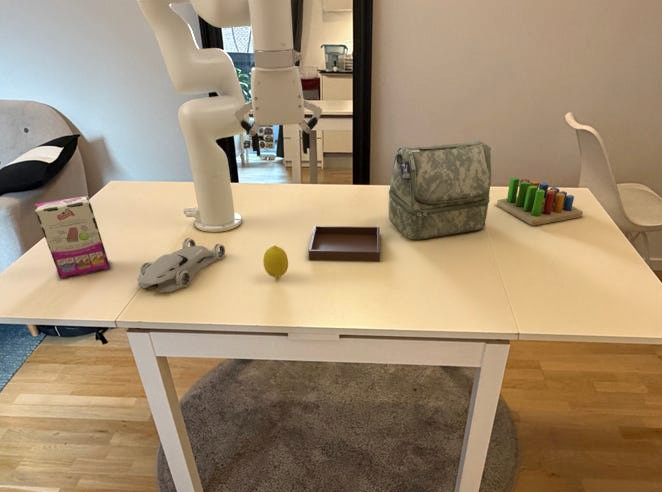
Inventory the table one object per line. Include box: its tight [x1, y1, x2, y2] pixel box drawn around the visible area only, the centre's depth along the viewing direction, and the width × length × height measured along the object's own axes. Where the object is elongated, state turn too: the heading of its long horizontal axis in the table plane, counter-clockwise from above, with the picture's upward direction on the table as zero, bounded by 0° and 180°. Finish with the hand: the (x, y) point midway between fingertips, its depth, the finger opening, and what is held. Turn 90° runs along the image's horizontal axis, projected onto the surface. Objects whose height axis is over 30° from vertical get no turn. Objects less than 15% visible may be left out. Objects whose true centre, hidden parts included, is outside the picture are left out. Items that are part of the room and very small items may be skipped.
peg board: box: [496, 176, 584, 226], centre depth 156 cm, size 18×17×9 cm
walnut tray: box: [308, 225, 381, 263], centre depth 138 cm, size 17×15×2 cm
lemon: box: [262, 245, 289, 279], centre depth 123 cm, size 6×6×8 cm
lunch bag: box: [387, 140, 492, 240], centre depth 143 cm, size 26×18×22 cm
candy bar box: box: [34, 195, 111, 280], centre depth 123 cm, size 11×5×16 cm, turn 118°
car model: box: [136, 237, 226, 293], centre depth 126 cm, size 11×24×5 cm, turn 158°
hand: (281, 153), depth 113 cm, fingers open, 9 cm apart
